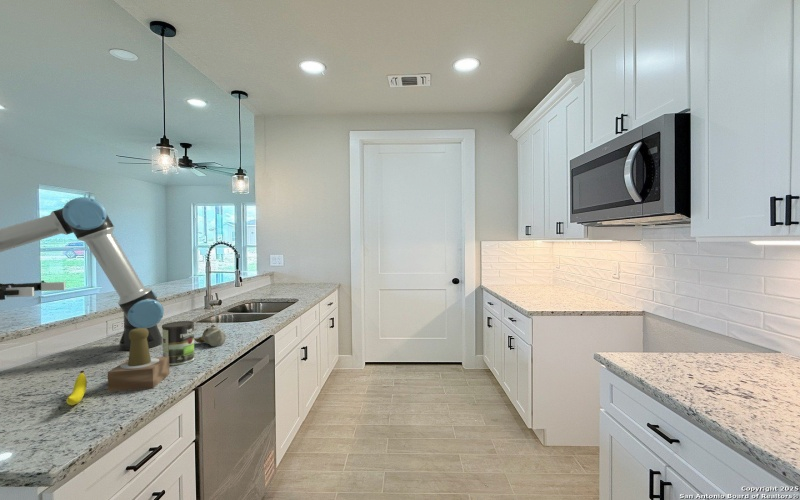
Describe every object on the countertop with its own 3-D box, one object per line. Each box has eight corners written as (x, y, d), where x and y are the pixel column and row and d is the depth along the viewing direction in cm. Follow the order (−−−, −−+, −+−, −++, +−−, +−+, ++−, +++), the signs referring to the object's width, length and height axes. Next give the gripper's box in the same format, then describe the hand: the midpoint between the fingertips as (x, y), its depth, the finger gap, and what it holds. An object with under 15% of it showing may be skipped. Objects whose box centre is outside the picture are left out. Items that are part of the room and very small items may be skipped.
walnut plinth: (129, 377, 119) (128, 358, 119) (169, 373, 122) (169, 355, 122) (108, 391, 108) (107, 371, 107) (153, 388, 110) (152, 367, 110)
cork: (125, 367, 110) (124, 331, 110) (129, 361, 116) (128, 327, 115) (149, 364, 113) (148, 329, 113) (152, 358, 119) (151, 325, 118)
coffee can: (201, 357, 139) (200, 321, 139) (180, 366, 129) (179, 327, 129) (178, 355, 141) (177, 320, 141) (155, 364, 131) (154, 326, 131)
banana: (61, 418, 92) (60, 394, 91) (76, 392, 108) (75, 371, 107) (76, 415, 93) (75, 391, 93) (89, 390, 109) (88, 369, 109)
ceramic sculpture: (206, 328, 148) (192, 325, 158) (207, 349, 148) (192, 345, 158) (232, 324, 156) (217, 321, 166) (233, 344, 156) (217, 340, 166)
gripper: (4, 297, 123) (76, 294, 128) (-75, 311, 99) (18, 307, 104) (3, 275, 123) (75, 273, 128) (-76, 283, 99) (17, 281, 103)
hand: (49, 288), depth 116 cm, fingers open, 13 cm apart
